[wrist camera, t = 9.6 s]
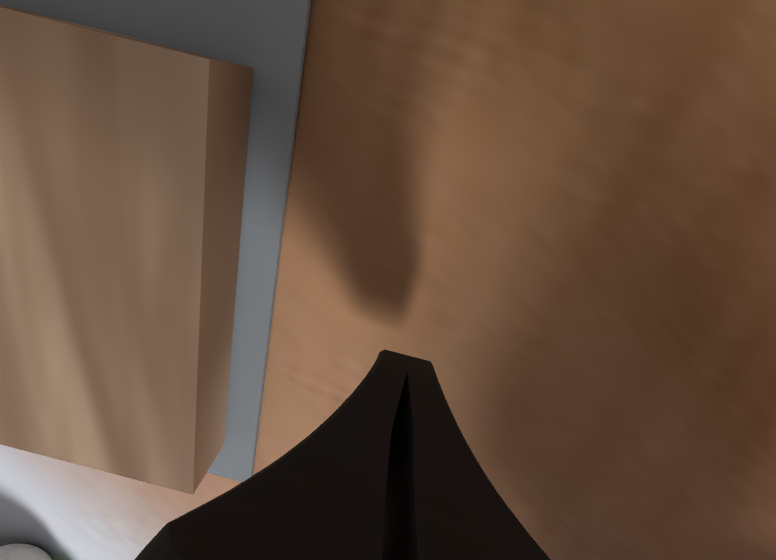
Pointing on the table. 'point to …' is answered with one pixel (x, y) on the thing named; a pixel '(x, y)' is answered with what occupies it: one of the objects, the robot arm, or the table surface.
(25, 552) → the rainbow petal rattle
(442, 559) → the robot arm
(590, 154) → the table surface
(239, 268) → the felt mat
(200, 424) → the wooden block
